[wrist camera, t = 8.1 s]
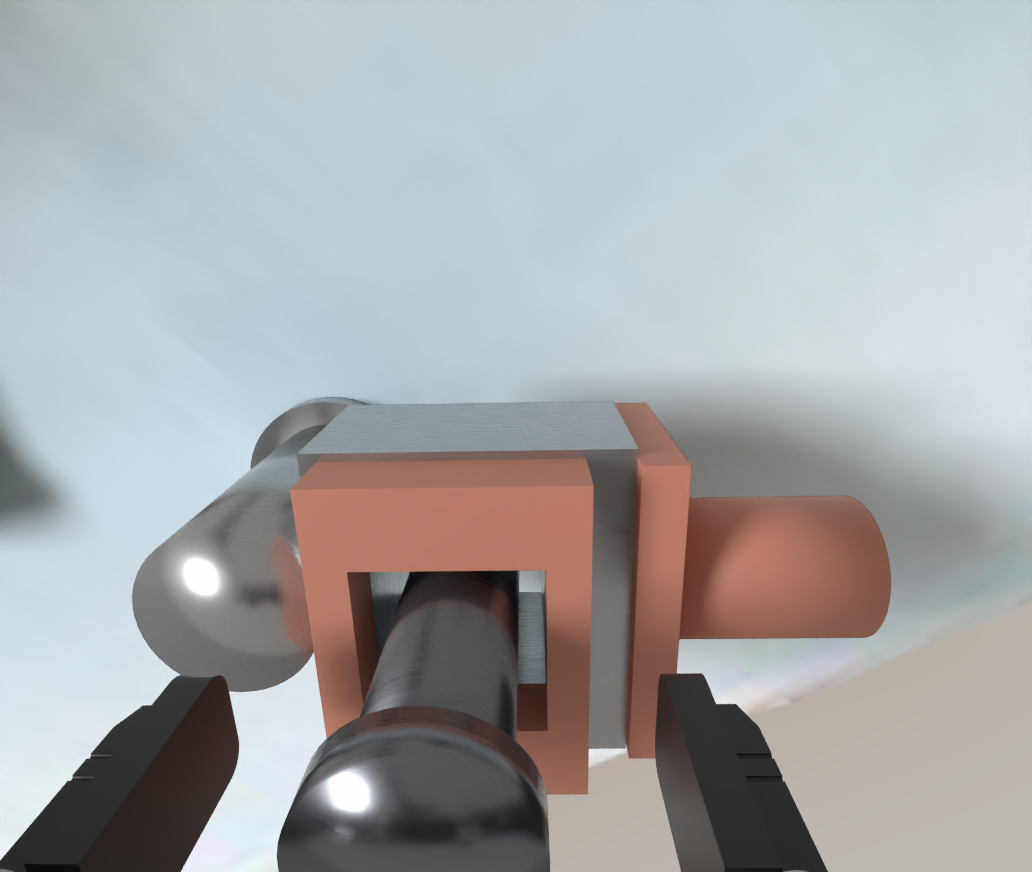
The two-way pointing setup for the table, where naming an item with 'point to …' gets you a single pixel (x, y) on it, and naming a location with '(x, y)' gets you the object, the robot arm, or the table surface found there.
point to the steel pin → (430, 748)
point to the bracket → (581, 573)
